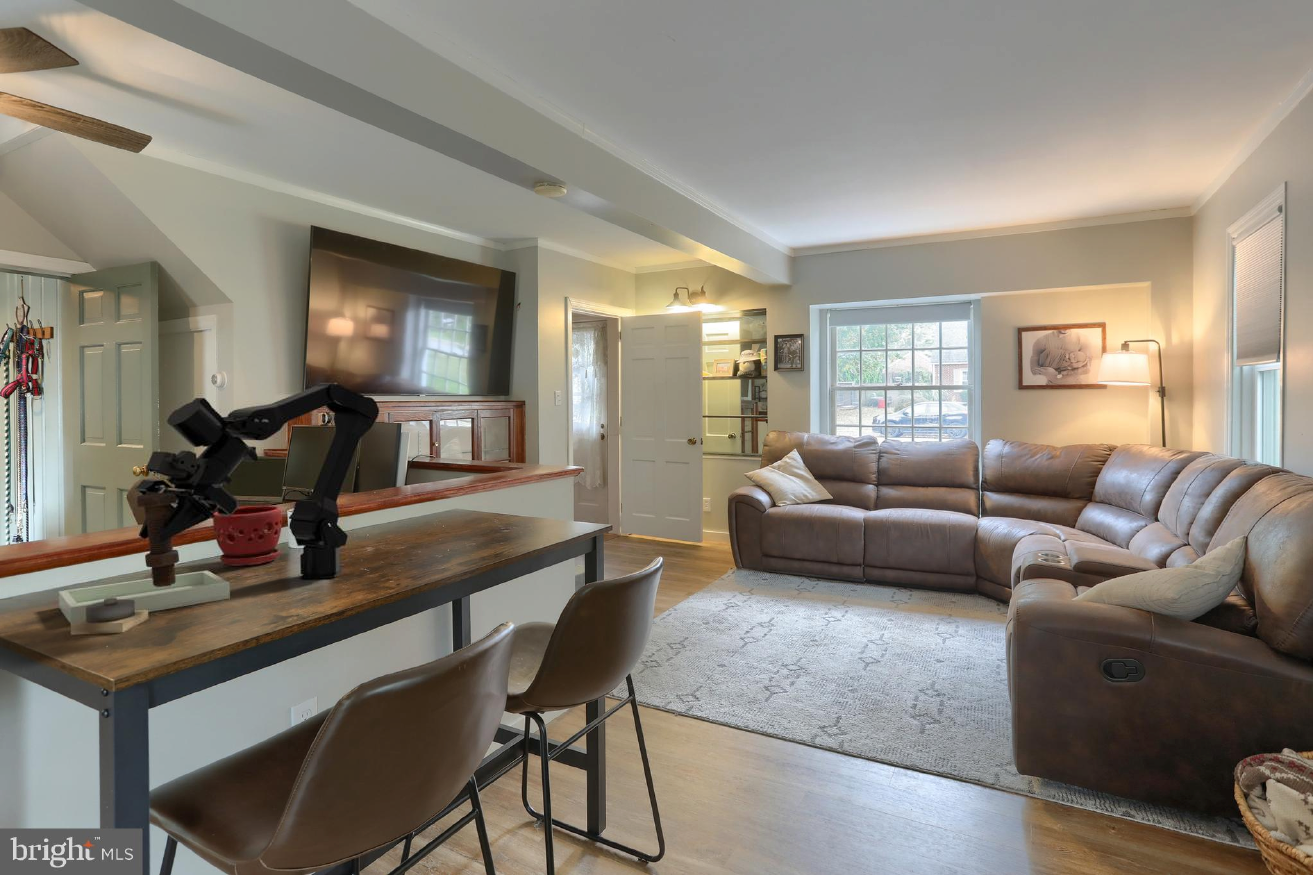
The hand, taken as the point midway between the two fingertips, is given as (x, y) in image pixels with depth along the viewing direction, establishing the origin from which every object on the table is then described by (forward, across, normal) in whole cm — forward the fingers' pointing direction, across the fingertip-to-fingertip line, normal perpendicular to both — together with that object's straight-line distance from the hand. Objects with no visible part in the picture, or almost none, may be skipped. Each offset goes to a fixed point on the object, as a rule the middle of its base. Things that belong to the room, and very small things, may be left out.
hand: (150, 538), depth 112 cm
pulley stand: (+13, -2, +6) cm, 14 cm away
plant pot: (-15, -25, +35) cm, 46 cm away
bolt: (+5, 0, +7) cm, 8 cm away
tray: (+6, -11, +13) cm, 18 cm away
